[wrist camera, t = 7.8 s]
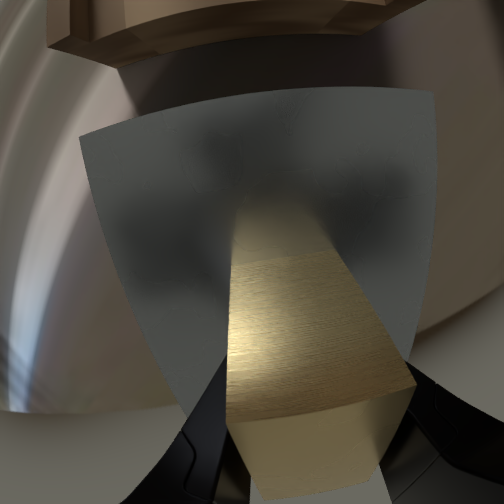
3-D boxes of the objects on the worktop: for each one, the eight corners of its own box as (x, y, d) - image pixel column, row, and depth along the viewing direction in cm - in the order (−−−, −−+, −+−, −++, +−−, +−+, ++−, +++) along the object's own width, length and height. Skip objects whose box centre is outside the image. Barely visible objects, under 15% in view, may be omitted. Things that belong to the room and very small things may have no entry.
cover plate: (415, 92, 7) (577, 103, 2) (386, 391, 13) (423, 483, 8) (94, 134, 7) (-69, 182, 2) (200, 421, 13) (193, 523, 8)
